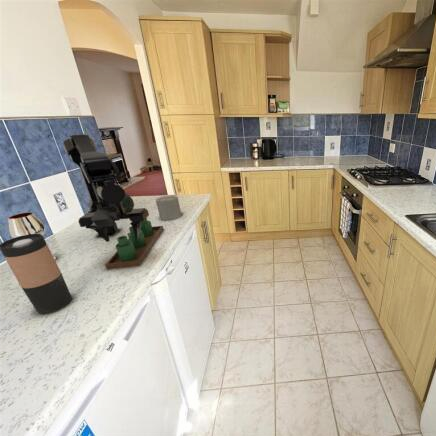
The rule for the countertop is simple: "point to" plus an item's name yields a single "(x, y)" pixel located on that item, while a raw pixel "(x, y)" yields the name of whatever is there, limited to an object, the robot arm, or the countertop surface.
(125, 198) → the squash
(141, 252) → the tray
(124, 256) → the green bottle
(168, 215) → the coffee mug
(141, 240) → the bottle middle
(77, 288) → the countertop surface
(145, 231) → the bottle near
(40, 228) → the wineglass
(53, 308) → the travel mug
